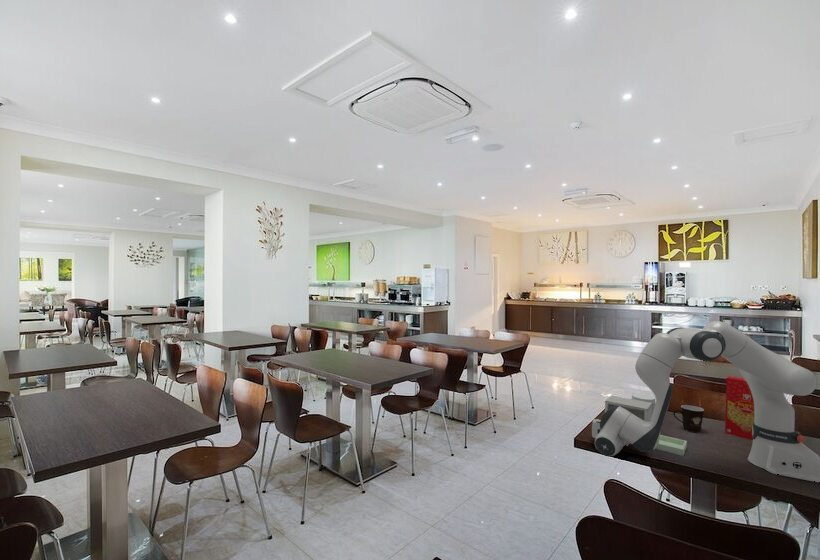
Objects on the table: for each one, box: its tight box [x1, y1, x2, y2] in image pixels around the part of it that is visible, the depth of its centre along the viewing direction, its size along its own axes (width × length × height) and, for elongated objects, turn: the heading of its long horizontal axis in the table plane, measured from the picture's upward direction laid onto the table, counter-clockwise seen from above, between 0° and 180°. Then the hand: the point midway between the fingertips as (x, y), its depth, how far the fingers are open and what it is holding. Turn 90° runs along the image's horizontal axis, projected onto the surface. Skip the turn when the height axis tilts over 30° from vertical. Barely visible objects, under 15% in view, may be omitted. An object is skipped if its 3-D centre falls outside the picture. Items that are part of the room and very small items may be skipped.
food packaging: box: [724, 375, 754, 441], centre depth 177 cm, size 15×5×25 cm, turn 41°
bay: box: [604, 395, 652, 422], centre depth 174 cm, size 16×11×15 cm
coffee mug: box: [673, 404, 705, 434], centre depth 185 cm, size 12×9×10 cm
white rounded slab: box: [631, 393, 656, 413], centre depth 185 cm, size 10×10×15 cm
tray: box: [654, 434, 688, 457], centre depth 163 cm, size 12×12×2 cm
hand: (623, 425), depth 168 cm, fingers closed on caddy, 5 cm apart
